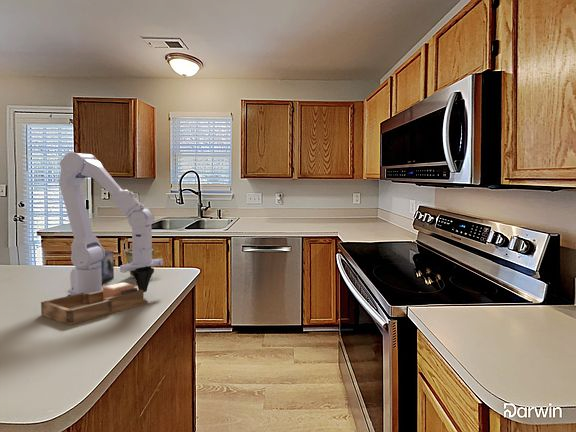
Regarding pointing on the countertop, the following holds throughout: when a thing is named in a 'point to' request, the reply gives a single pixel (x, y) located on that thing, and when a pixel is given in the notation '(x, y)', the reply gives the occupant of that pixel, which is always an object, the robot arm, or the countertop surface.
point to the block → (116, 289)
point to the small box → (107, 266)
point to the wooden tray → (90, 305)
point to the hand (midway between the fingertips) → (142, 291)
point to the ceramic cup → (130, 258)
